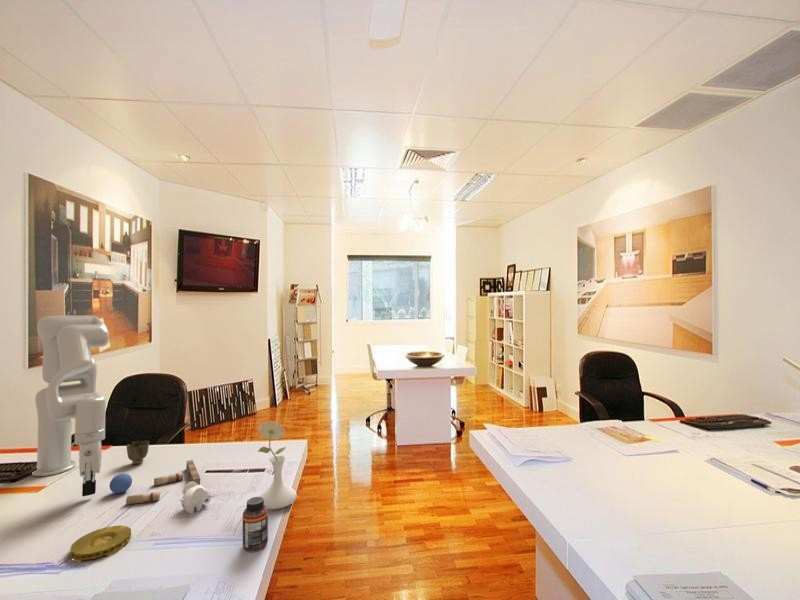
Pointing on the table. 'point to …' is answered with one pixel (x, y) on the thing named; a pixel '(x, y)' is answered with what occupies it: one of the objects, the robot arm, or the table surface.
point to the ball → (120, 483)
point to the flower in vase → (276, 470)
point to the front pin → (143, 498)
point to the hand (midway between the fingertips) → (89, 494)
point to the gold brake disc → (100, 543)
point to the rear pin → (168, 479)
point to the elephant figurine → (194, 496)
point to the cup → (137, 451)
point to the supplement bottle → (255, 525)
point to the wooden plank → (192, 472)
